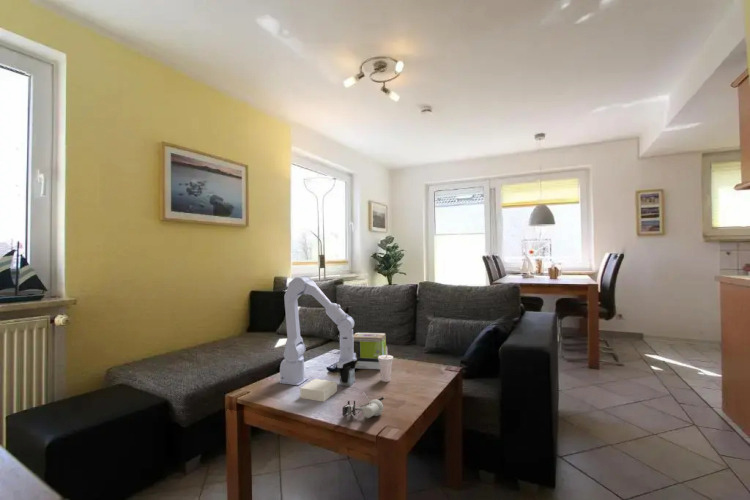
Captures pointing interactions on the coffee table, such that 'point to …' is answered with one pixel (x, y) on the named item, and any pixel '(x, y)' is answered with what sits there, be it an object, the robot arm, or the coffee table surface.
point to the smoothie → (385, 366)
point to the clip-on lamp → (365, 408)
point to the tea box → (369, 349)
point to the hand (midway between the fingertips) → (347, 380)
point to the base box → (318, 390)
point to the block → (349, 378)
